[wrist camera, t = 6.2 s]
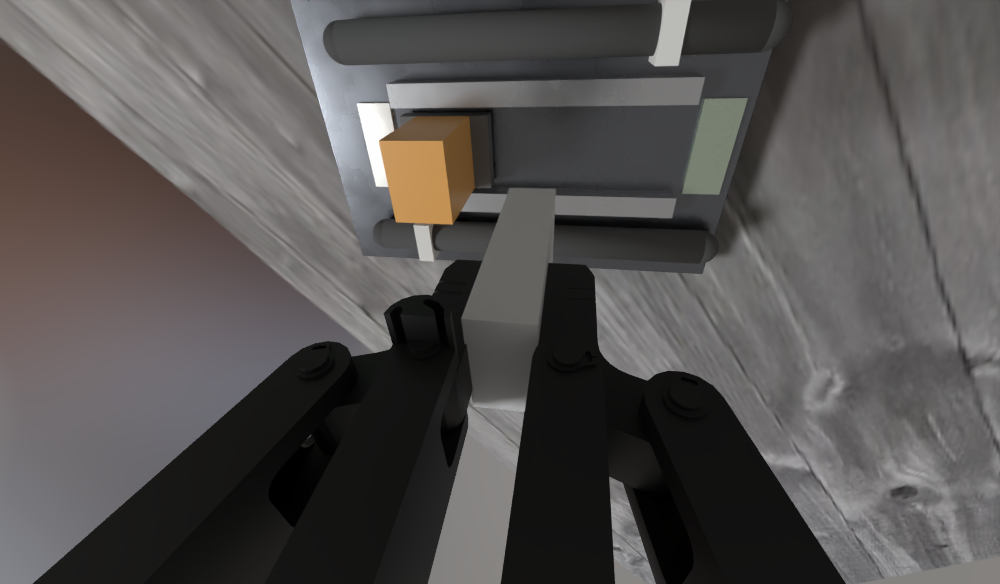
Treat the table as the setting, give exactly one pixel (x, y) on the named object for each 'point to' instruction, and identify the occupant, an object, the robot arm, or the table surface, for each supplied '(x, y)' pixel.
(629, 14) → the pair of grey rails
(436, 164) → the orange rectangular block
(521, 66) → the panel
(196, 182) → the table surface
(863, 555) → the table surface
